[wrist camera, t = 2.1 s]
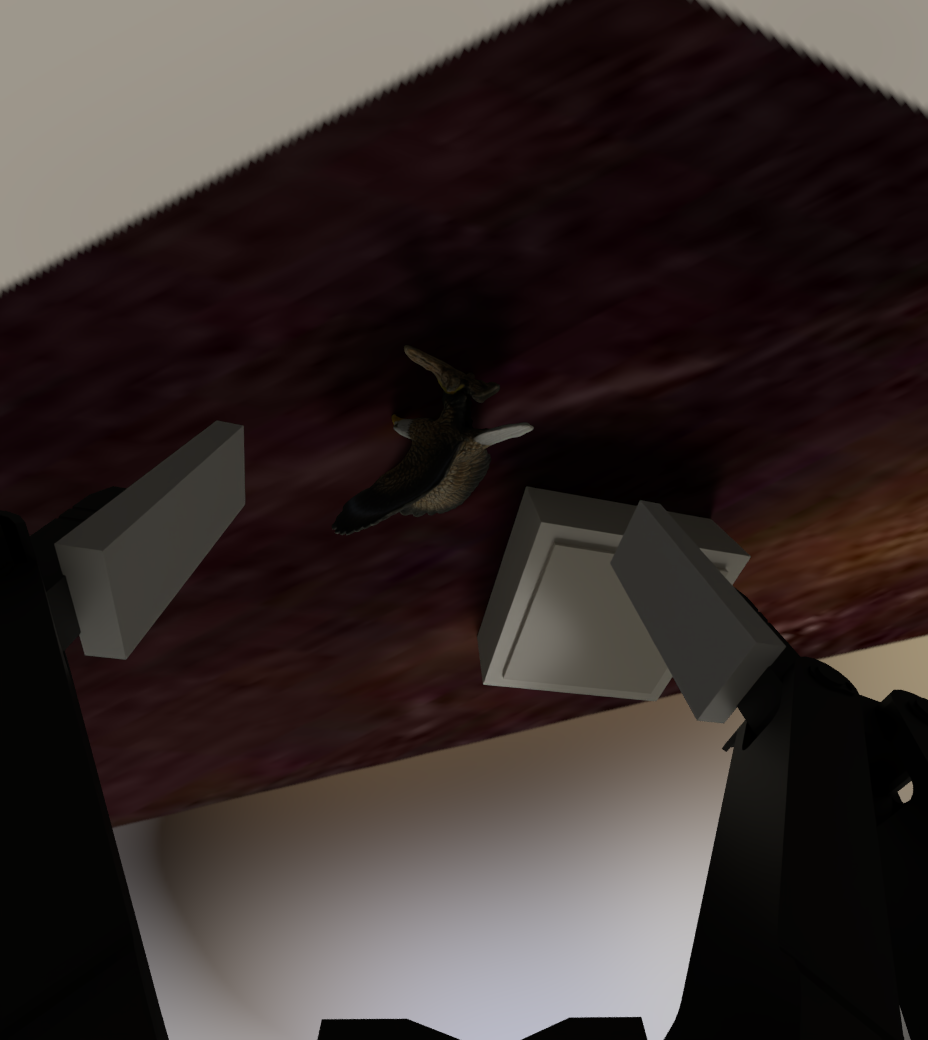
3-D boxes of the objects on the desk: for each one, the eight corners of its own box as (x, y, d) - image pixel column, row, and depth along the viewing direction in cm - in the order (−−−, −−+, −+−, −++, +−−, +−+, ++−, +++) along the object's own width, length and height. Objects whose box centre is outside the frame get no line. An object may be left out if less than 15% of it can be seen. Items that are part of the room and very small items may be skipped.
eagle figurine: (357, 322, 20) (301, 505, 22) (455, 361, 15) (370, 585, 18) (474, 375, 25) (418, 516, 28) (572, 414, 21) (494, 579, 23)
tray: (477, 637, 31) (483, 688, 28) (526, 486, 26) (542, 525, 22) (632, 655, 34) (658, 705, 30) (710, 519, 28) (754, 559, 24)
